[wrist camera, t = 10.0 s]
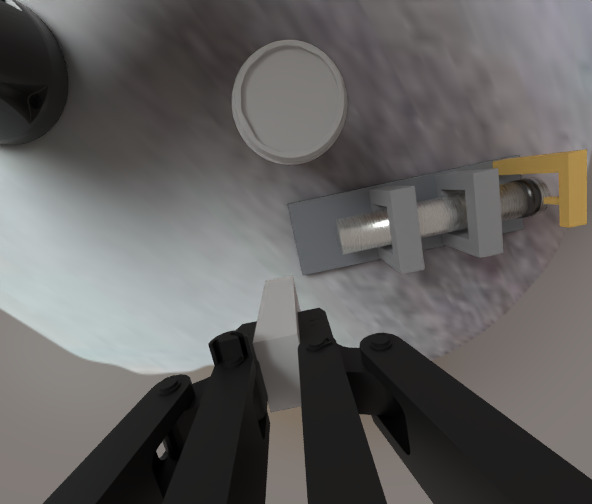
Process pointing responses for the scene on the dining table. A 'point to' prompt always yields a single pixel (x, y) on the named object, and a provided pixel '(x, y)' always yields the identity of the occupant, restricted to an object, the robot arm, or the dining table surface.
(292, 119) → the disposable coffee cup
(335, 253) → the collar bench
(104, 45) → the dining table surface
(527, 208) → the aluminium tube
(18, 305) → the dining table surface
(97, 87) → the dining table surface
